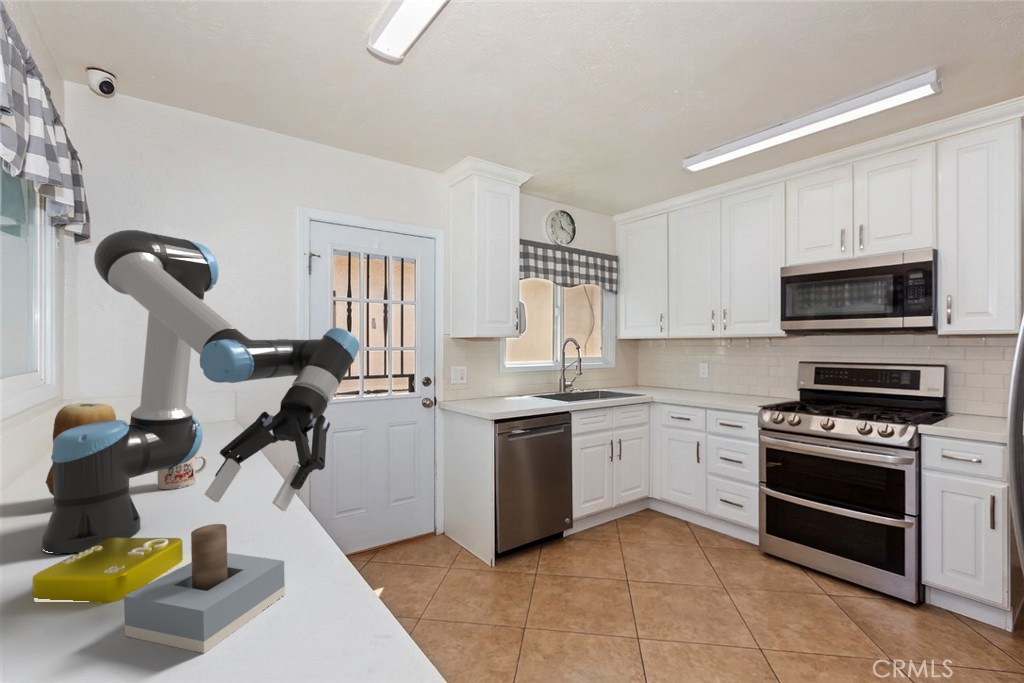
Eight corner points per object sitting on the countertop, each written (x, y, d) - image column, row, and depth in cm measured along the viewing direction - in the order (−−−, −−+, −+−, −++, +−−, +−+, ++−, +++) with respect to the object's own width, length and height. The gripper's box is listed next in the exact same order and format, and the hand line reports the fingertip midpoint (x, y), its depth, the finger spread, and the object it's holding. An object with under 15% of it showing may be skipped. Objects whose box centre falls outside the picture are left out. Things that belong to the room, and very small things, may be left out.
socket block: (124, 635, 64) (124, 596, 64) (215, 583, 78) (214, 550, 78) (204, 653, 60) (203, 611, 60) (284, 595, 74) (284, 560, 74)
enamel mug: (162, 492, 125) (161, 449, 125) (152, 486, 131) (151, 445, 131) (212, 481, 135) (211, 441, 135) (201, 476, 140) (200, 437, 140)
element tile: (110, 559, 88) (110, 534, 88) (188, 559, 87) (187, 534, 87) (24, 605, 73) (24, 574, 73) (117, 606, 72) (117, 575, 72)
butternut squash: (114, 502, 118) (112, 404, 118) (40, 514, 110) (38, 409, 110) (121, 488, 129) (119, 398, 129) (54, 498, 122) (52, 403, 122)
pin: (185, 610, 67) (183, 534, 67) (212, 593, 72) (210, 522, 72) (208, 614, 66) (207, 537, 66) (235, 597, 70) (233, 525, 70)
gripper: (375, 410, 87) (321, 521, 73) (267, 405, 94) (200, 505, 80) (357, 385, 82) (296, 499, 68) (245, 381, 89) (168, 484, 75)
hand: (243, 502), depth 74 cm, fingers open, 13 cm apart
